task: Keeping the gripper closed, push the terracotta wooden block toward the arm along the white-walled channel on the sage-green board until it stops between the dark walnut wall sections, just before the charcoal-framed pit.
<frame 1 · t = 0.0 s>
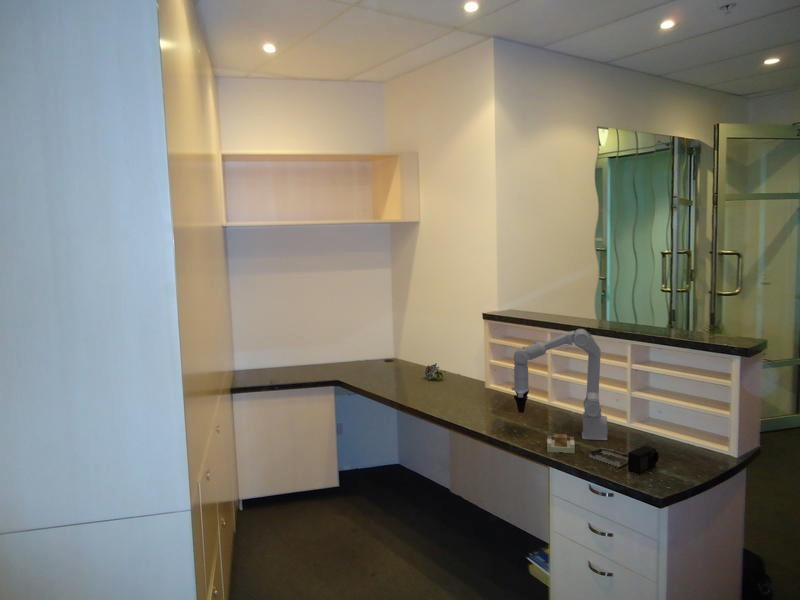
hand: (521, 409, 238), 10 cm above the worktop, tool pointing down, fingers open, 7 cm apart
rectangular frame: (610, 461, 207), on the worktop
route board: (560, 446, 222), on the worktop
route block: (560, 444, 218), point 2 cm above the worktop, touching route board
digital camera: (643, 470, 197), on the worktop
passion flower: (434, 380, 339), on the worktop
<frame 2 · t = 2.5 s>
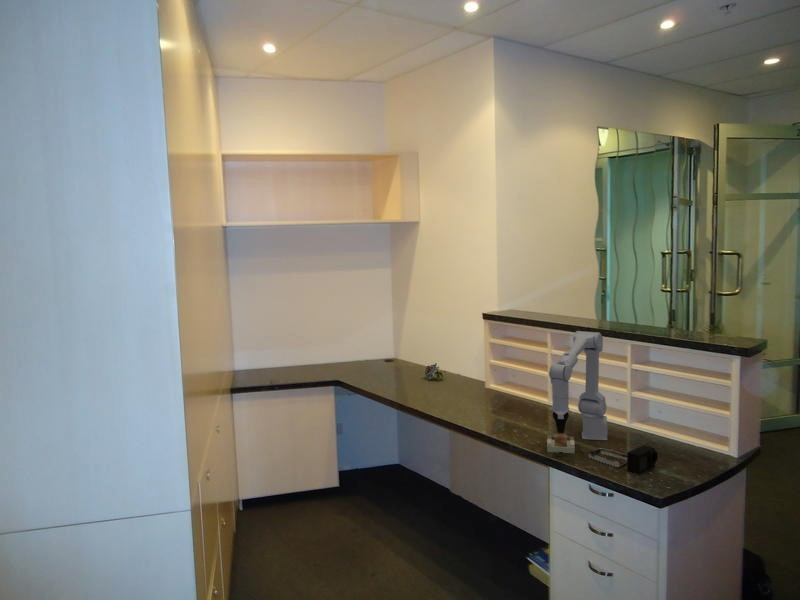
hand: (560, 432, 210), 9 cm above the worktop, tool pointing down, fingers closed
nothing on the worktop moved.
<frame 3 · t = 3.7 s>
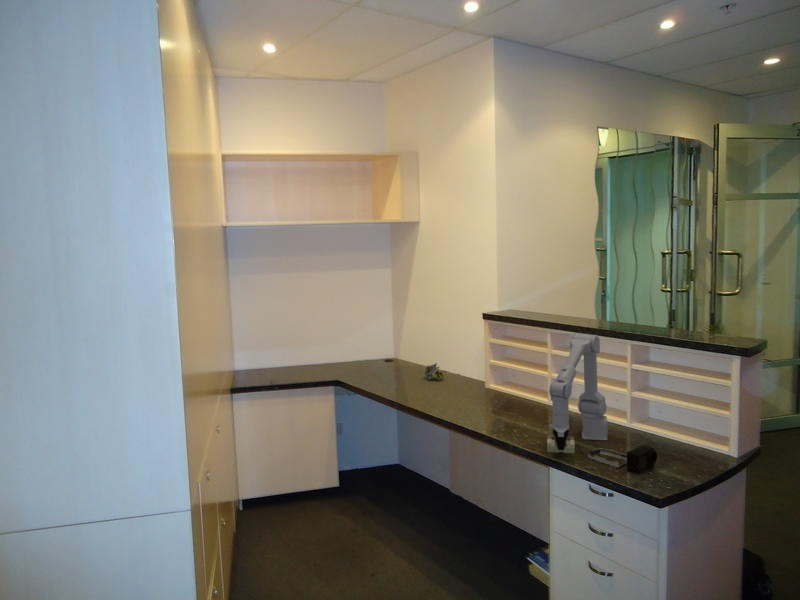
hand: (560, 449, 211), 3 cm above the worktop, tool pointing down, fingers closed
nothing on the worktop moved.
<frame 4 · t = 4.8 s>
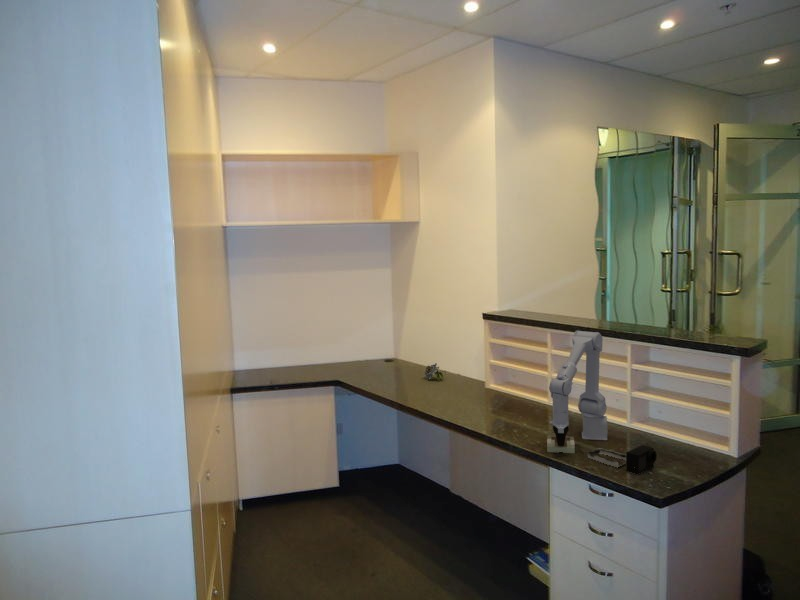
hand: (560, 445, 215), 3 cm above the worktop, tool pointing down, fingers closed
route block: (560, 444, 218), point 2 cm above the worktop, touching gripper
everything else where it was.
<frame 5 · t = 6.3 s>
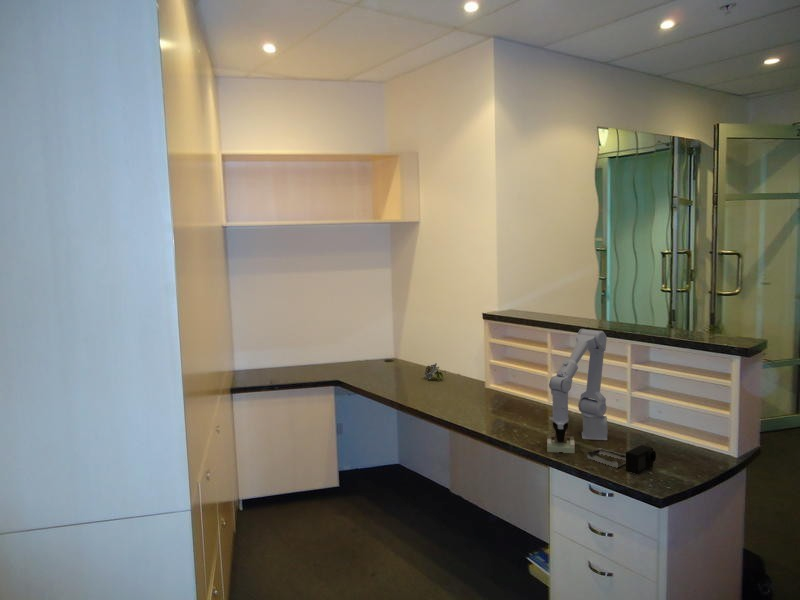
hand: (560, 441, 219), 3 cm above the worktop, tool pointing down, fingers closed
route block: (560, 441, 222), point 2 cm above the worktop, touching gripper, route board
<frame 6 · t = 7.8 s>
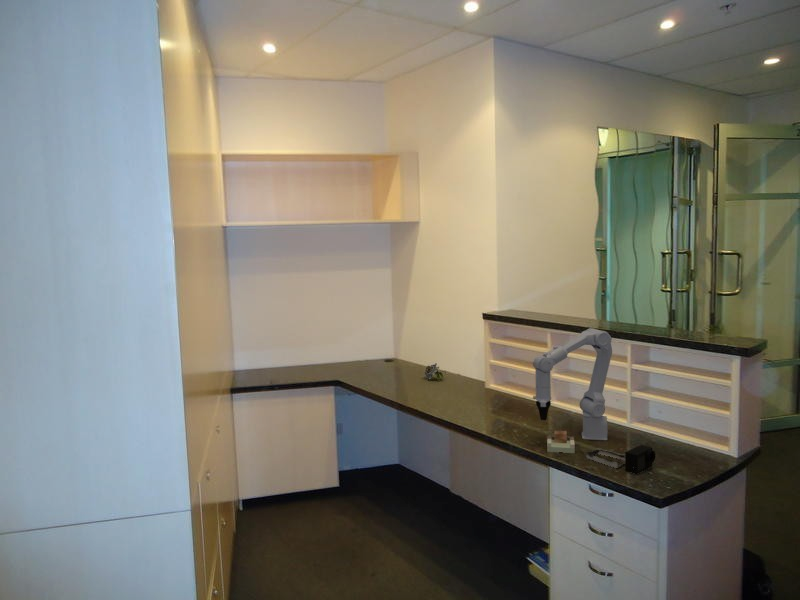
hand: (543, 419, 226), 9 cm above the worktop, tool pointing down, fingers closed
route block: (560, 441, 222), point 2 cm above the worktop, touching route board
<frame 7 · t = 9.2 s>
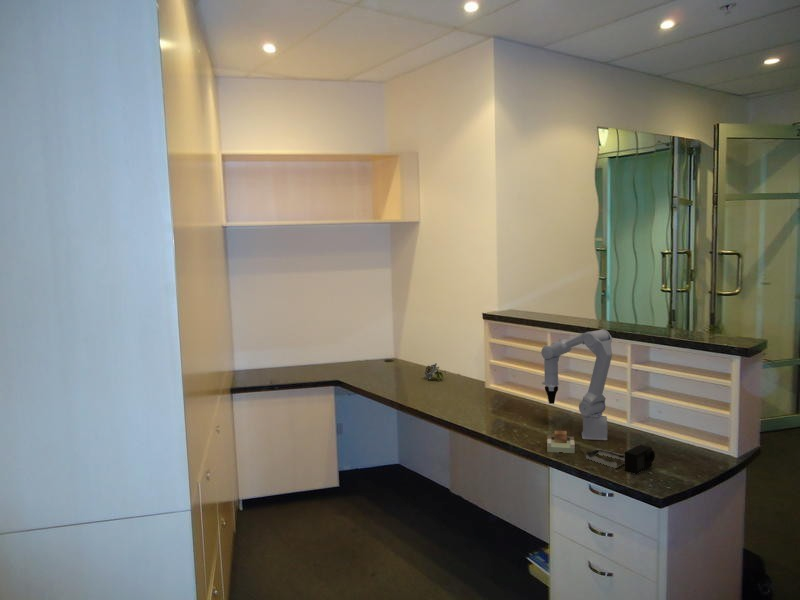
hand: (551, 403, 248), 9 cm above the worktop, tool pointing down, fingers closed
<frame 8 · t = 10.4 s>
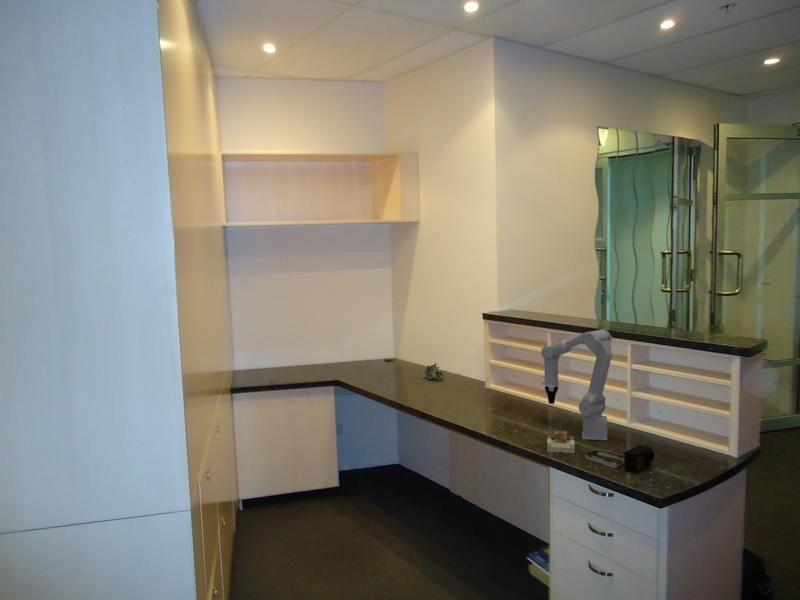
hand: (551, 403, 248), 9 cm above the worktop, tool pointing down, fingers closed
at the end: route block 1.2 cm off-centre on the route board, point 2.0 cm above the route board's base; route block tilted 0°; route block moved 4.0 cm from its start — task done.
